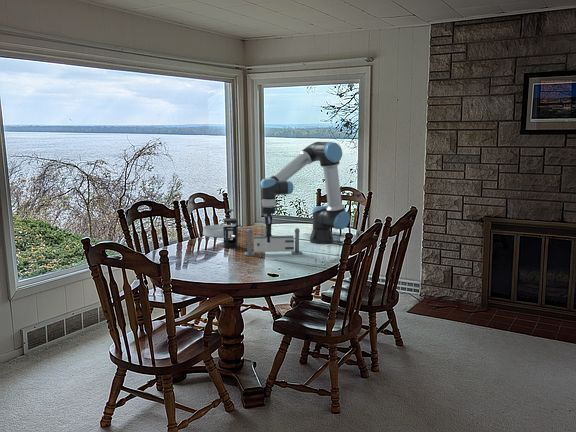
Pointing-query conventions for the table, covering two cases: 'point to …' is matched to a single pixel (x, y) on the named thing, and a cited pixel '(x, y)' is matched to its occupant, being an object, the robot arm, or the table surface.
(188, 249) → the table surface
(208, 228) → the dish
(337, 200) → the robot arm
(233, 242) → the french press
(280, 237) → the grey long flat block
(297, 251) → the posts
